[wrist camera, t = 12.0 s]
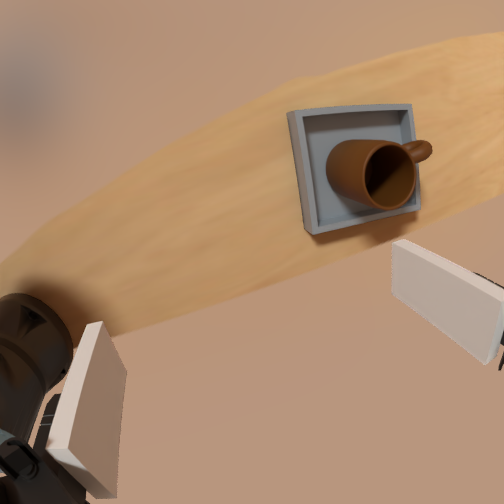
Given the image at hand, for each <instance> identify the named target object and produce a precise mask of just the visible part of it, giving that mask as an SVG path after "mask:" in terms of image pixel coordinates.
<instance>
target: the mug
mask: <svg viewBox="0 0 504 504" xmlns="http://www.w3.org/2000/svg"><path fill="white" fill-rule="evenodd" d="M431 154H432V146H431V144H430V143H429V142H427V141H424V140H417V141H411V142H408V143H405V144H403V145H400V144H399V143H396V142H392V141H386V140H371V139H352V140H346V141H343V142H340V143H339V144H337V145H336V146H335V147H334V148H333V149H332V150H331V152H330V153H329V155H328V158H327V161H326V176H327V179H328V182H329V184H330V185H331V187H332V188H333V189H334V190H335V191H336V192H337V193H338V194H340V195H342V196H344V197H346V198H349V199H352V200H354V201H356V202H359V203H362V204H364V205H367V206H370V207H373V208H377V209H381V210H386V211H390V210H395V209H398V208H400V207H401V206H403V205H404V204H405V203H406V202H407V201H408V200H409V199H410V197H411V196H412V194H413V192H414V189H415V186H416V180H417V171H416V165H415V164H417V163H419V162H421V161H424V160H426V159H427V158H428V157H429V156H430V155H431Z"/></svg>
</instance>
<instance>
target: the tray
mask: <svg viewBox="0 0 504 504" xmlns="http://www.w3.org/2000/svg"><path fill="white" fill-rule="evenodd" d="M286 114H287V119H288V125H289V131H290V137H291V143H292V149H293V155H294V161H295V168H296V174H297V181H298V187H299V194H300V201H301V208H302V216H303V223H304V229H305V230H307V231H308V232H310V233H311V234H312V235H314V234H319V233H323V232H327V231H331V230H336V229H340V228H344V227H348V226H353V225H357V224H361V223H365V222H370V221H374V220H378V219H382V218H387V217H391V216H395V215H399V214H404V213H408V212H412V211H416V210H421V202H420V180H419V165H418V163H417V164H415V165H416V171H417V180H416V186H415V189H414V192H413V194H412V196H411V197H410V199H409V200H408V201H407V202H406V203H405V204H404V205H403V206H401V207H400V208H398V209H395V210H390V211H386V210H381V209H377V208H373V207H370V206H367V205H364V204H362V203H359V202H356V201H354V200H352V199H349V198H346V197H344V196H342V195H340V194H338V193H337V192H336V191H335V190H334V189H333V188H332V187H331V185H330V184H329V182H328V179H327V176H326V161H327V158H328V155H329V153H330V152H331V150H332V149H333V148H334V147H335V146H336V145H337V144H339V143H340V142H343V141H346V140H352V139H371V140H386V141H392V142H396V143H399V144H400V145H403V144H405V143H408V142H411V141H416V134H415V125H414V118H413V111H412V104H374V105H352V106H337V107H325V108H314V109H304V110H295V111H291V112H288V113H286Z"/></svg>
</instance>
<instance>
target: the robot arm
mask: <svg viewBox="0 0 504 504" xmlns="http://www.w3.org/2000/svg"><path fill="white" fill-rule="evenodd" d="M392 295H394V296H395V297H397V298H398V299H399V300H401V301H402V302H403V303H405V304H406V305H407V306H409V307H410V308H411V309H413V310H414V311H415V312H417V313H418V314H419V315H421V316H422V317H424V318H425V319H426V320H427V321H429V322H430V323H431V324H433V325H434V326H435V327H437V328H438V329H439V330H441V331H442V332H443V333H444V334H446V335H447V336H448V337H450V338H451V339H452V340H453V341H455V342H456V343H457V344H459V345H460V346H461V347H462V348H464V349H465V350H466V351H468V352H469V353H470V354H471V355H473V356H474V357H475V358H476V359H478V360H479V361H480V362H481V363H483V364H484V365H486V364H487V363H488V362H490V361H491V360H492V359H494V358H495V357H496V356H497V353H498V349H499V346H500V343H501V344H502V345H503V346H504V287H502V286H500V285H499V284H497V283H494V282H493V281H491V280H489V279H488V280H487V278H486V277H484V276H482V275H480V274H478V273H474V272H471V271H469V270H467V269H465V268H463V267H461V266H459V265H457V264H455V263H453V262H451V261H449V260H447V259H445V258H443V257H441V256H439V255H437V254H435V253H433V252H430V251H429V250H427V249H424V248H422V247H420V246H418V245H416V244H414V243H411V242H410V241H408V240H405V239H402V240H398V241H395V242H392ZM72 360H73V362H72ZM71 363H72V365H71ZM503 364H504V353H503V356H502V359H501V361H500V364H499V370H501V369H502V366H503ZM70 365H71V367H70ZM69 368H70V370H69ZM68 370H69V373H68V376H67V379H66V382H65V384H64V388H63V390H62V393H61V394H55V395H54V396H53V397H52V398H51V399H50V401H49V402H48V403H47V405H46V408H45V411H44V414H43V416H44V417H43V418H42V420H41V423H40V424H41V426H39V429H38V433H37V436H36V439H35V443H34V446H33V449H32V448H31V447H30V445H29V444H28V441H29V438H30V435H31V432H32V429H33V426H34V423H35V420H36V418H37V415H38V412H39V409H40V407H41V404H42V401H43V399H44V396H45V394H46V393H47V392H48V391H50V390H51V389H52V388H53V387H54V386H55V385H56V384H58V383H59V382H60V381H61V380H62V379H63V378H64V377H65V375H66V374H67V372H68ZM126 375H127V371H126V369H125V367H124V365H123V363H122V361H121V359H120V357H119V355H118V353H117V351H116V349H115V346H114V344H113V342H112V340H111V338H110V336H109V333H108V331H107V329H106V327H105V325H104V322H103V321H99V322H95V323H91V324H87V326H86V328H85V331H84V333H83V336H82V338H81V341H80V343H79V346H78V348H77V351H76V354H75V356H74V359H73V344H72V340H71V337H70V335H69V332H68V330H67V328H66V327H65V325H64V323H63V322H62V321H61V319H60V318H59V317H58V316H57V315H56V313H55V312H54V311H53V310H52V309H50V308H49V307H48V306H47V305H45V304H44V303H43V302H41V301H39V300H38V299H36V298H33V297H31V296H28V295H25V294H18V293H14V294H8V295H5V296H3V297H2V298H0V473H5V474H6V475H7V476H4V477H0V504H90V503H89V502H87V501H86V500H85V499H86V490H87V491H88V492H89V493H90V494H91V495H92V496H93V497H95V498H96V499H107V498H117V476H118V474H117V473H118V456H119V442H120V428H121V418H122V408H123V399H124V390H125V381H126Z"/></svg>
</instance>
